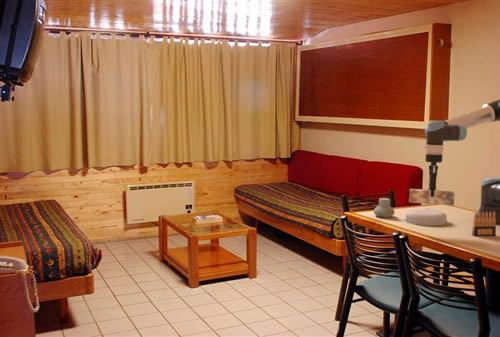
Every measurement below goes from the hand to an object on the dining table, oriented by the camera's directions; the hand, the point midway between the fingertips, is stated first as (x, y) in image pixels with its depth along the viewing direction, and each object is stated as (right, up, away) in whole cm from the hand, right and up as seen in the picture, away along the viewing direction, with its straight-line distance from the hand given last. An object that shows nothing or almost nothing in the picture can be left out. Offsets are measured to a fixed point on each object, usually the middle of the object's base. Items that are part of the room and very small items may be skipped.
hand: (431, 202), depth 260 cm
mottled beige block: (0, 0, 0) cm, 0 cm away
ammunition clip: (+23, -16, -4) cm, 28 cm away
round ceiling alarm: (+6, -12, +26) cm, 29 cm away
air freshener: (-13, -10, +38) cm, 42 cm away
